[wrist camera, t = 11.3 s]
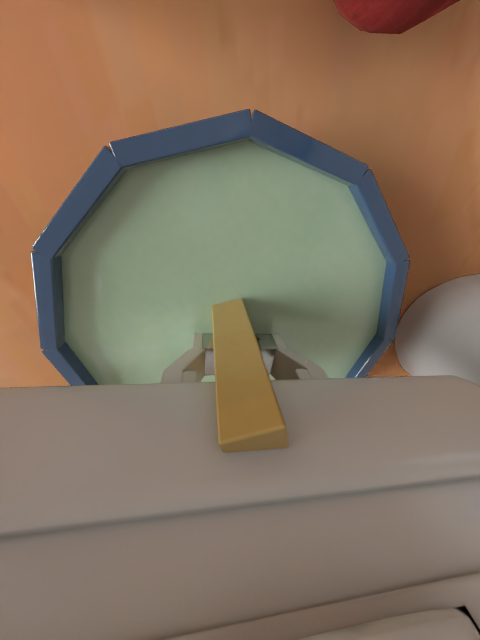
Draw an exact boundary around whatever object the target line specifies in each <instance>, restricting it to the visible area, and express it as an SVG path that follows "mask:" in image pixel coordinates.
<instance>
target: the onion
mask: <svg viewBox="0 0 480 640" xmlns="http://www.w3.org/2000/svg"><path fill="white" fill-rule="evenodd" d="M458 1H460V0H334V2H335V4H336V7H337V9H338V11H339V13H340V15H341V16H342V17H344V18H345V19H346V20H347V21H349V22H350V23H351V24H353V25H354V26H355V27H356V28H358V29H359V30H360V31H365V32H369V33H387V34H401V33H403V32H405V31H407V30H408V29H410V28H412V27H414V26H416V25H417V24H419V23H421V22H423V21H425V20H426V19H428V18H430V17H432V16H434V15H435V14H437V13H439V12H440V11H442V10H444V9H446V8H447V7H449V6H451V5H453V4H454V3H456V2H458Z"/></svg>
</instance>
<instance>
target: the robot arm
mask: <svg viewBox="0 0 480 640" xmlns="http://www.w3.org/2000/svg"><path fill="white" fill-rule="evenodd" d="M255 336H256V339H257V342H258V345H259V348H260V351H261V353H262V356H263V359H264V362H265V365H266V368H267V371H268V374H271V376H272V377H273V378H274V379H276V380H271V383H272V385H273V388H274V391H275V394H276V397H277V400H278V403H279V406H280V409H281V412H282V415H283V418H284V420H285V423H286V427H287V433H288V439H289V447H288V448H283V449H270V450H257V451H244V452H231V453H224V452H222V450H221V448H220V446H219V444H218V429H217V409H216V388H215V382H201V380H202V379H203V378H204V376H207V375H215V368H214V347H213V333H203V337H202V333H193V343H192V349H189V350H188V351H187V352H185V353H184V354H183V355H182V356H180V357H179V358H178V359H177V360H176V361H174V362H173V363H172V364H171V365H170V366H168V367H167V368H166V369H165V370H164V371H163V374H162V378H161V382H160V383H151V384H116V385H80V386H45V387H9V388H0V640H480V385H478V384H475V383H473V382H471V381H468V380H466V379H463V378H460V377H458V376H454V375H433V376H400V377H363V378H328V376H327V375H326V373H325V372H324V370H323V369H322V368H321V367H320V366H318V365H316V364H315V363H313V362H311V361H310V360H308V359H306V358H305V357H303V356H301V355H300V354H298V353H296V352H295V351H293V350H291V349H287V347H286V345H285V343H284V341H283V340H282V338H281V336H280V334H279V333H271V334H255Z"/></svg>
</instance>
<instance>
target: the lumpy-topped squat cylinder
mask: <svg viewBox="0 0 480 640" xmlns="http://www.w3.org/2000/svg"><path fill="white" fill-rule="evenodd" d="M395 351H396V355H397V358H398V361H399V363H400V365H401V367H402V368H403V369H404V370H405V371H407V372H408V373H409V374H410V375H411V376H433V375H454V376H458V377H460V378H463V379H466V380H468V381H471V382H473V383H475V384H478V385H480V274H474V275H468V276H463V277H459V278H455V279H452V280H450V281H447V282H445V283H443V284H441V285H438V286H436V287H434V288H433V289H431V290H429V291H427V292H426V293H424V294H423V295H421V296H420V297H419V298H418V299H417V300H415V301H414V302H413V303H412V304H411V305H410V307H409V308H408V309H407V310H406V312H405V313H404V315H403V316H402V318H401V320H400V322H399V325H398V328H397V331H396V336H395Z"/></svg>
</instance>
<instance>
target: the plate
mask: <svg viewBox="0 0 480 640" xmlns="http://www.w3.org/2000/svg"><path fill="white" fill-rule="evenodd" d="M109 145H110V147H111V148H109V147H107V146H104V147H103V148H102V150H101V151H100V152H99V154H98V155H97V157H96V158H95V159H94V161H93V162H92V164H91V165H90V166H89V168H88V169H87V171H86V172H85V173H84V175H83V176H82V177H81V179H80V180H79V182H78V183H77V184H76V186H75V187H74V189H73V190H72V191H71V193H70V194H69V196H68V197H67V198H66V200H65V201H64V203H63V204H62V205H61V207H60V208H59V210H58V211H57V212H56V214H55V215H54V217H53V218H52V219H51V221H50V222H49V223H48V225H47V226H46V228H45V229H44V230H43V232H42V233H41V235H40V236H39V237H38V239H37V240H36V242H35V243H34V244H33V246H32V249H34V251H31V261H32V270H33V280H34V289H35V299H36V309H37V318H38V328H39V337H40V347H41V349H44V350H43V351H42V353H43V354H44V355H45V356H46V357H47V358H48V360H49V361H50V362H51V363H52V364H53V365H54V367H55V368H56V369H57V370H58V371H59V372H60V374H61V375H62V376H63V377H64V378H65V379H66V380H67V382H68V383H69V384H70V385H71V386H80V385H116V384H151V383H160V382H161V378H162V374H163V371H164V370H165V369H166V368H167V367H168V366H170V365H171V364H172V363H173V362H174V361H176V360H177V359H178V358H179V357H180V356H182V355H183V354H184V353H185V352H187V351H188V350H189V349H192V343H193V333H202V337H203V333H213V347H214V368H215V375H207V376H204V378H203V379H202V380H201V382H215V388H216V409H217V429H218V444H219V446H220V448H221V450H222V452H224V453H231V452H244V451H257V450H270V449H283V448H288V447H289V439H288V433H287V427H286V423H285V420H284V418H283V415H282V412H281V409H280V406H279V403H278V400H277V397H276V394H275V391H274V388H273V385H272V383H271V380H276V379H274V378H273V377H272V376H271V374H268V371H267V368H266V365H265V362H264V359H263V356H262V353H261V351H260V348H259V345H258V342H257V339H256V336H255V334H271V333H279V334H280V336H281V338H282V340H283V341H284V343H285V345H286V347H287V349H291V350H293V351H295V352H296V353H298V354H300V355H301V356H303V357H305V358H306V359H308V360H310V361H311V362H313V363H315V364H316V365H318V366H320V367H321V368H322V369H323V370H324V372H325V373H326V375H327V376H328V378H363V377H366V376H367V375H368V373H369V372H370V371H371V369H372V368H373V367H374V366H375V364H376V363H377V362H378V360H379V359H380V358H381V356H382V355H383V354H384V352H385V351H386V350H387V348H388V347H389V346H390V345H391V343H392V342H393V339H392V338H395V336H396V331H397V326H398V321H399V315H400V310H401V305H402V300H403V295H404V290H405V284H406V279H407V274H408V269H409V264H410V260H407V259H408V258H409V255H408V253H407V250H406V248H405V246H404V243H403V241H402V239H401V237H400V234H399V232H398V230H397V227H396V225H395V223H394V221H393V218H392V216H391V214H390V212H389V209H388V207H387V205H386V202H385V200H384V198H383V196H382V193H381V191H380V189H379V186H378V184H377V182H376V180H375V177H374V175H373V173H372V171H371V169H367V168H368V165H366V164H364V163H362V162H360V161H358V160H356V159H354V158H352V157H350V156H348V155H346V154H344V153H342V152H340V151H338V150H336V149H334V148H332V147H330V146H328V145H326V144H324V143H322V142H320V141H318V140H316V139H314V138H312V137H310V136H308V135H306V134H304V133H302V132H300V131H298V130H296V129H294V128H292V127H290V126H288V125H286V124H284V123H282V122H280V121H278V120H276V119H274V118H272V117H270V116H267V115H265V114H263V113H261V112H259V111H257V110H254V111H253V113H252V115H251V112H250V109H246V110H241V111H237V112H233V113H229V114H225V115H221V116H216V117H212V118H208V119H204V120H200V121H196V122H191V123H187V124H183V125H179V126H175V127H170V128H166V129H162V130H158V131H154V132H150V133H145V134H141V135H137V136H133V137H129V138H125V139H120V140H116V141H112V142H110V143H109Z"/></svg>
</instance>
